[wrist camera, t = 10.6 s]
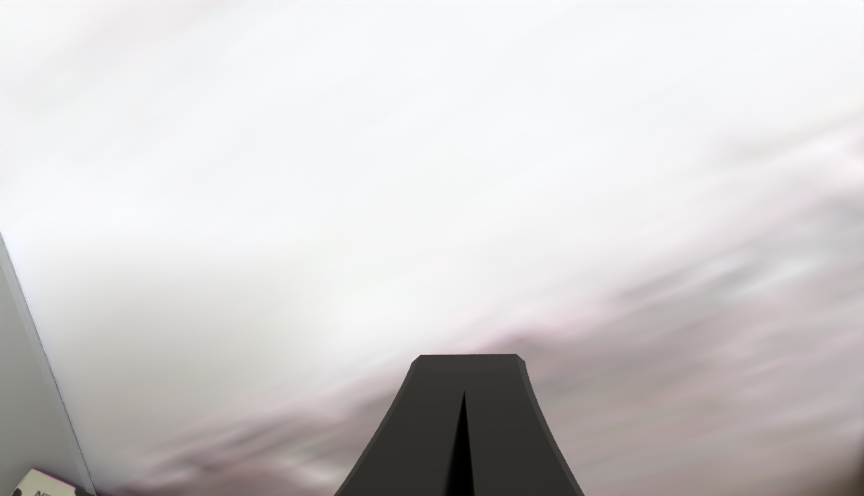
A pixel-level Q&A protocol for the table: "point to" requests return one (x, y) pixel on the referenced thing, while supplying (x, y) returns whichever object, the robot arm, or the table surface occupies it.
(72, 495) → the candy bar box
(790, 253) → the table surface
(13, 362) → the rubber mat
